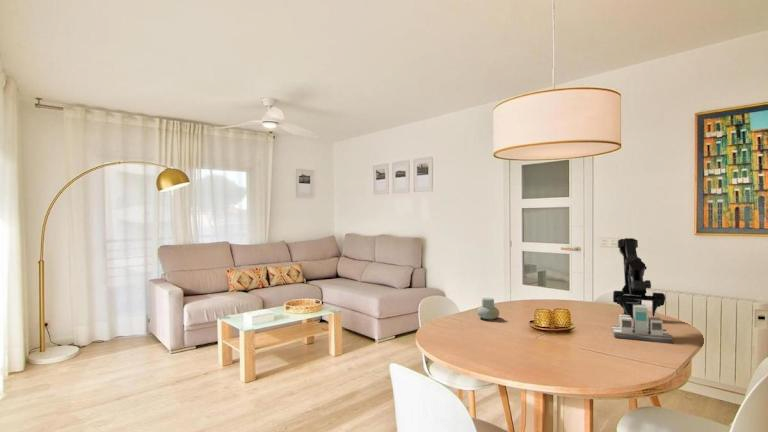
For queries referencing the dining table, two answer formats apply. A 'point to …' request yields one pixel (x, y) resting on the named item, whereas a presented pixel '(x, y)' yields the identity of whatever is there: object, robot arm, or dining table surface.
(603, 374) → the dining table surface
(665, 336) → the rail board
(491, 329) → the dining table surface
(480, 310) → the air freshener
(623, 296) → the robot arm
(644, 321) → the block
